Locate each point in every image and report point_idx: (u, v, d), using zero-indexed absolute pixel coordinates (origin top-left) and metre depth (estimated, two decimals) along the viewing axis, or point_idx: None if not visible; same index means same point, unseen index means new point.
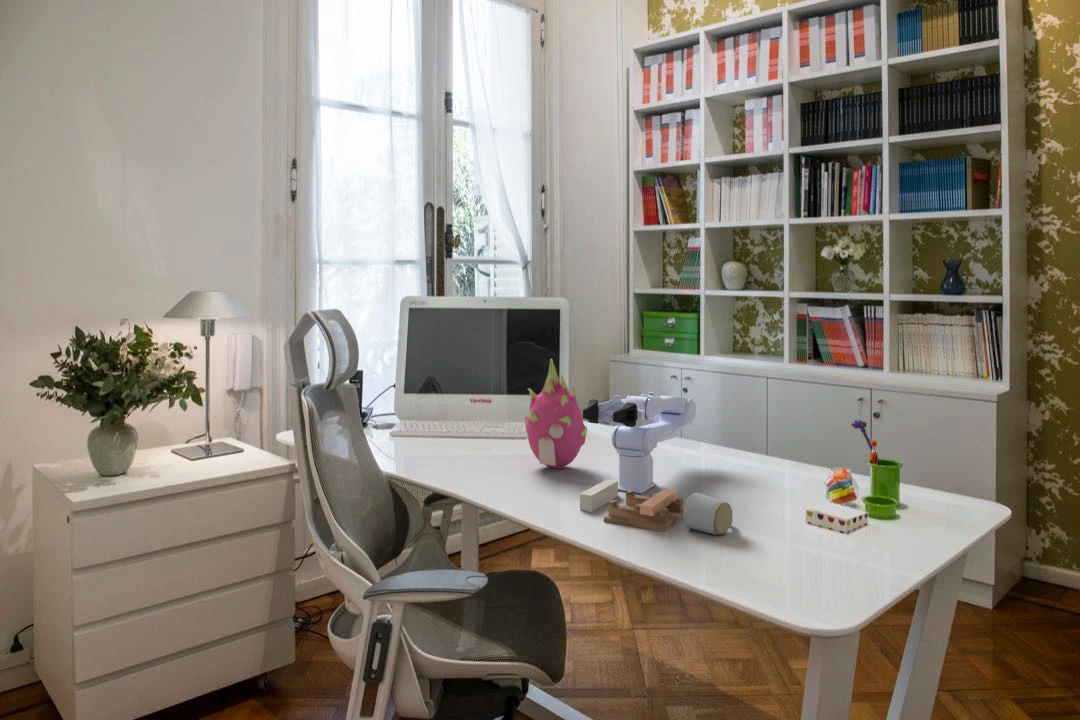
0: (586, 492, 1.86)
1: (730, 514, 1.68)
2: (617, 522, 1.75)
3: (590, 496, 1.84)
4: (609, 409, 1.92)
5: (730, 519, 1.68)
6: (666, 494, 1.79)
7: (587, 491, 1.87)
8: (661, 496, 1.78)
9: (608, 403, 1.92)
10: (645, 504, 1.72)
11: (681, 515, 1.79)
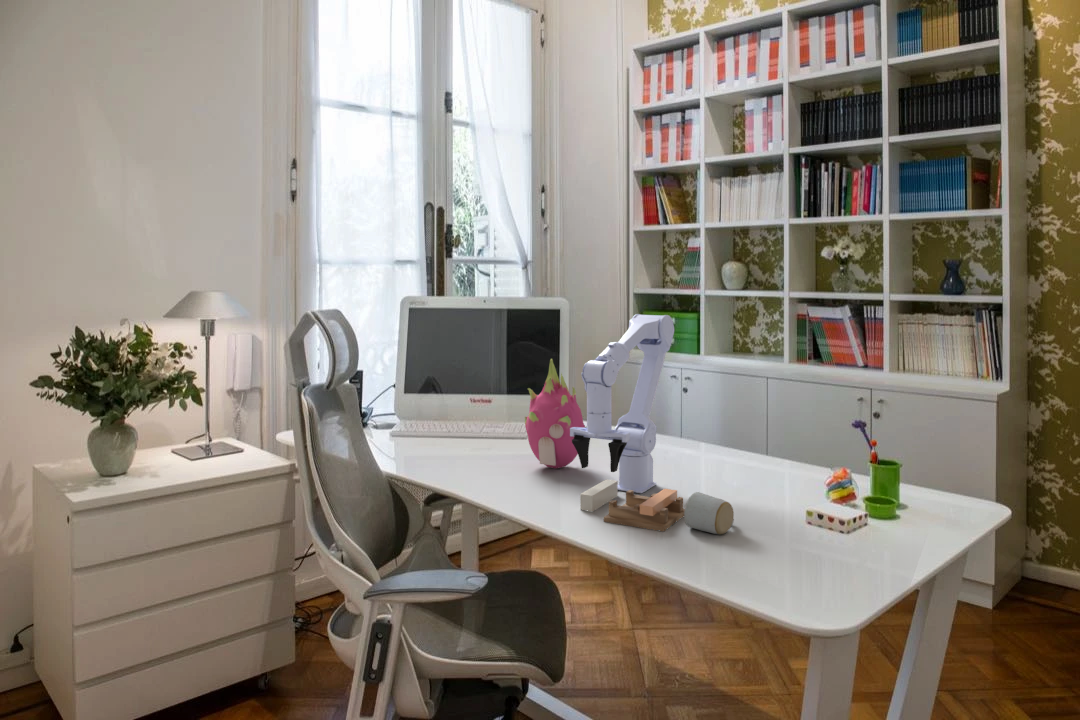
0: (586, 492, 1.86)
1: (731, 514, 1.69)
2: (617, 522, 1.75)
3: (591, 496, 1.84)
4: None
5: (731, 519, 1.69)
6: (666, 494, 1.79)
7: (587, 491, 1.87)
8: (661, 496, 1.78)
9: None
10: (645, 504, 1.72)
11: (681, 515, 1.79)
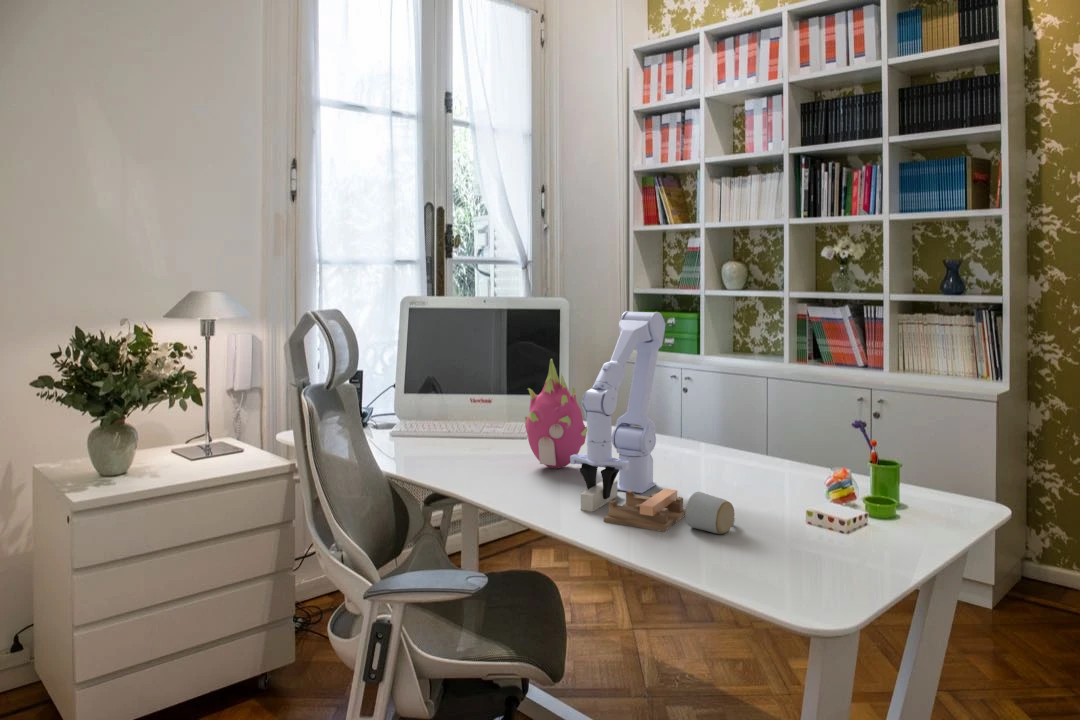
0: (587, 492, 1.86)
1: (732, 513, 1.69)
2: (617, 522, 1.75)
3: (591, 496, 1.84)
4: None
5: (732, 518, 1.69)
6: (666, 494, 1.79)
7: (588, 491, 1.87)
8: (661, 496, 1.78)
9: None
10: (645, 504, 1.72)
11: (681, 515, 1.79)
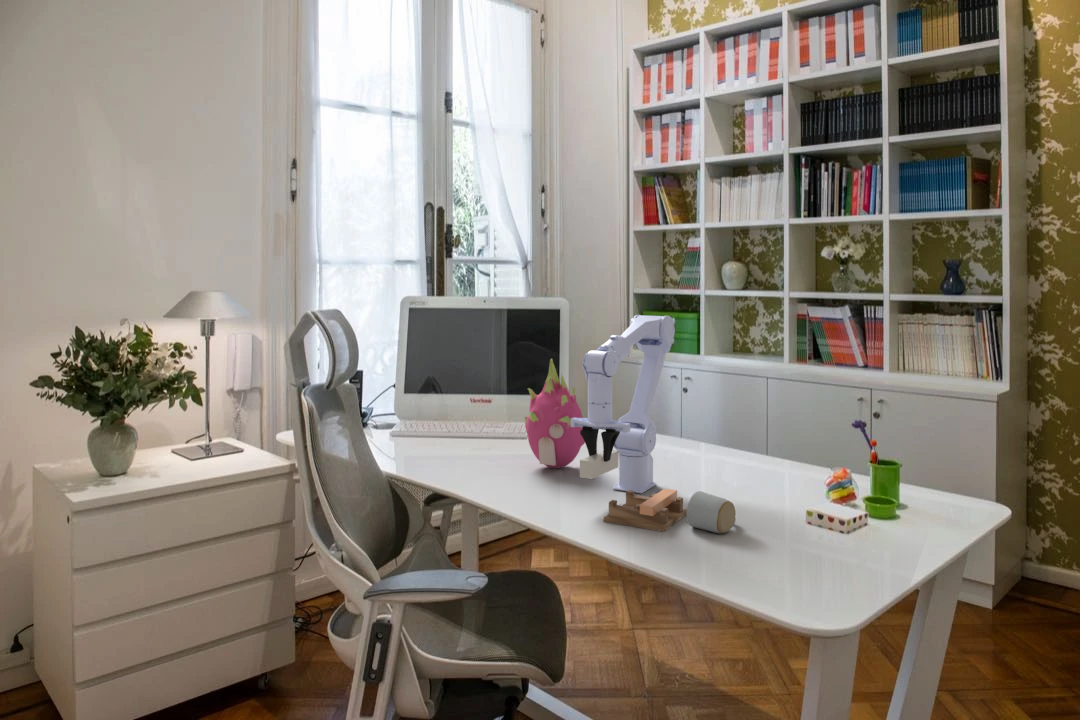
0: (586, 459, 1.85)
1: (733, 513, 1.69)
2: (617, 522, 1.75)
3: (590, 462, 1.82)
4: None
5: (733, 518, 1.69)
6: (666, 494, 1.79)
7: (587, 458, 1.86)
8: (661, 496, 1.78)
9: None
10: (645, 504, 1.72)
11: (681, 515, 1.79)
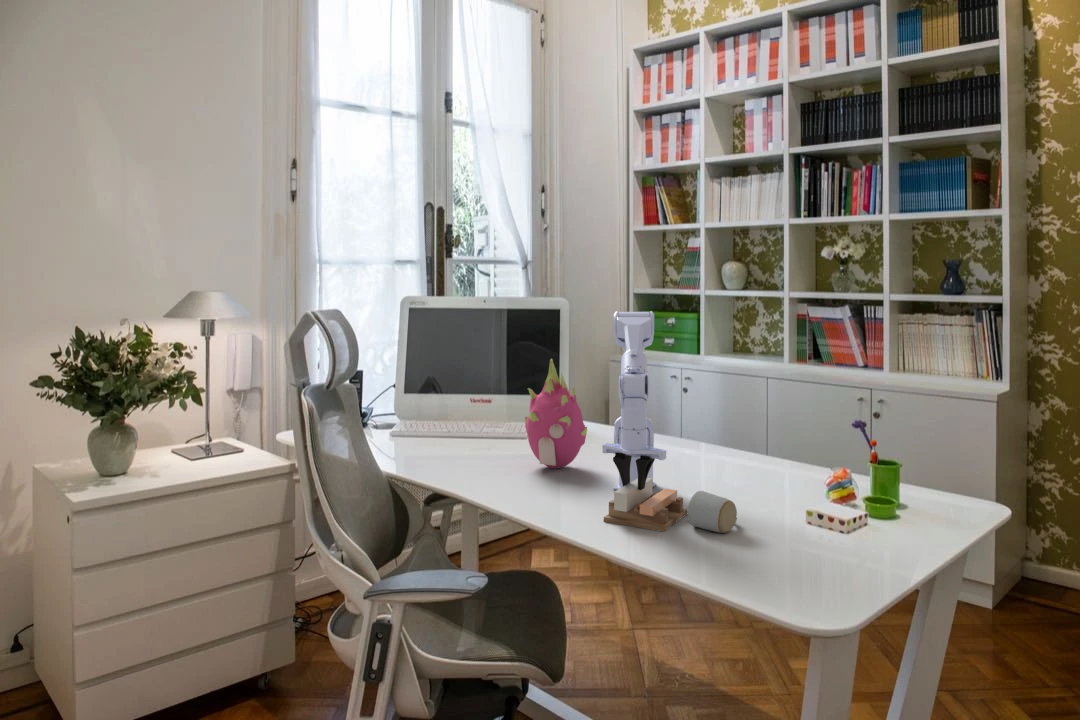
0: (620, 490, 1.76)
1: (734, 512, 1.69)
2: (617, 522, 1.75)
3: (625, 494, 1.74)
4: None
5: (734, 517, 1.70)
6: (666, 494, 1.79)
7: (621, 489, 1.77)
8: (661, 496, 1.78)
9: None
10: (645, 504, 1.72)
11: (681, 515, 1.79)
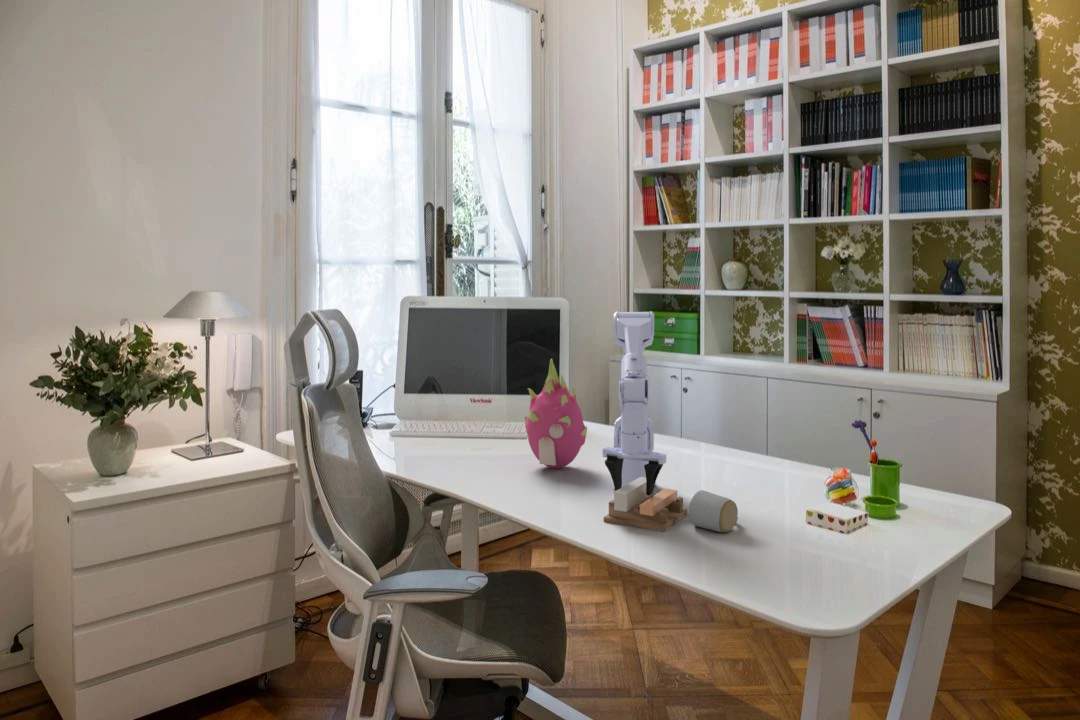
0: (620, 490, 1.76)
1: (735, 512, 1.70)
2: (617, 522, 1.75)
3: (625, 494, 1.74)
4: None
5: (735, 517, 1.70)
6: (666, 494, 1.79)
7: (621, 489, 1.77)
8: (661, 496, 1.78)
9: None
10: (645, 504, 1.72)
11: (681, 515, 1.79)
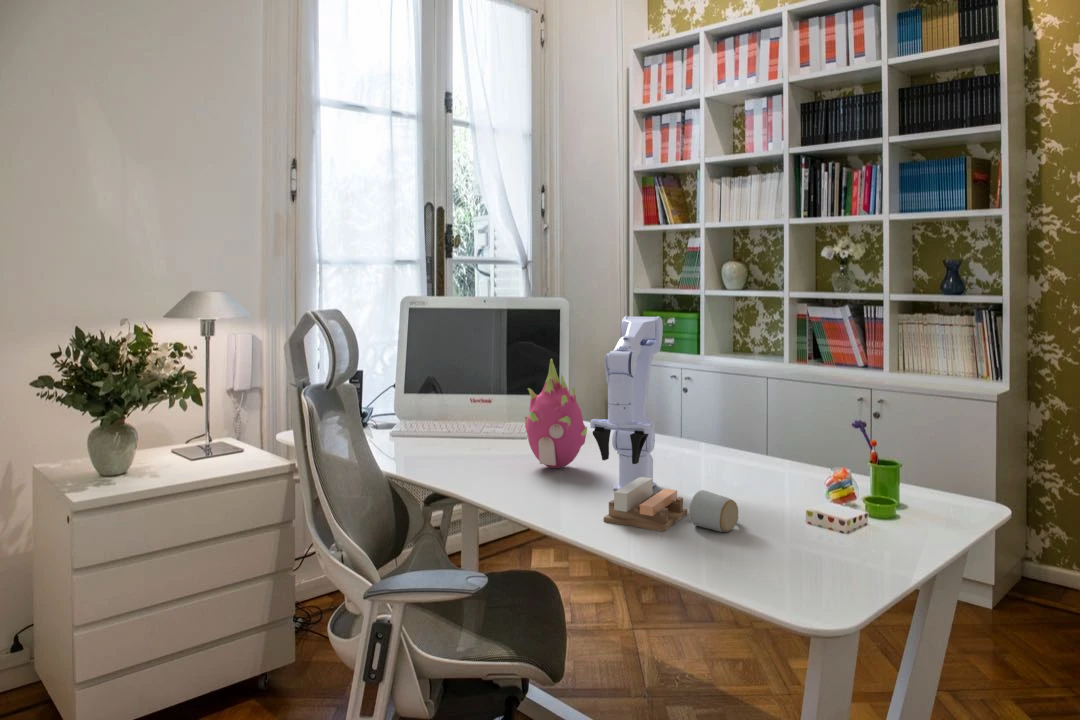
0: (620, 490, 1.76)
1: (736, 511, 1.70)
2: (617, 522, 1.75)
3: (625, 494, 1.74)
4: None
5: (736, 516, 1.70)
6: (666, 494, 1.79)
7: (621, 489, 1.77)
8: (661, 496, 1.78)
9: None
10: (645, 504, 1.72)
11: (681, 515, 1.79)
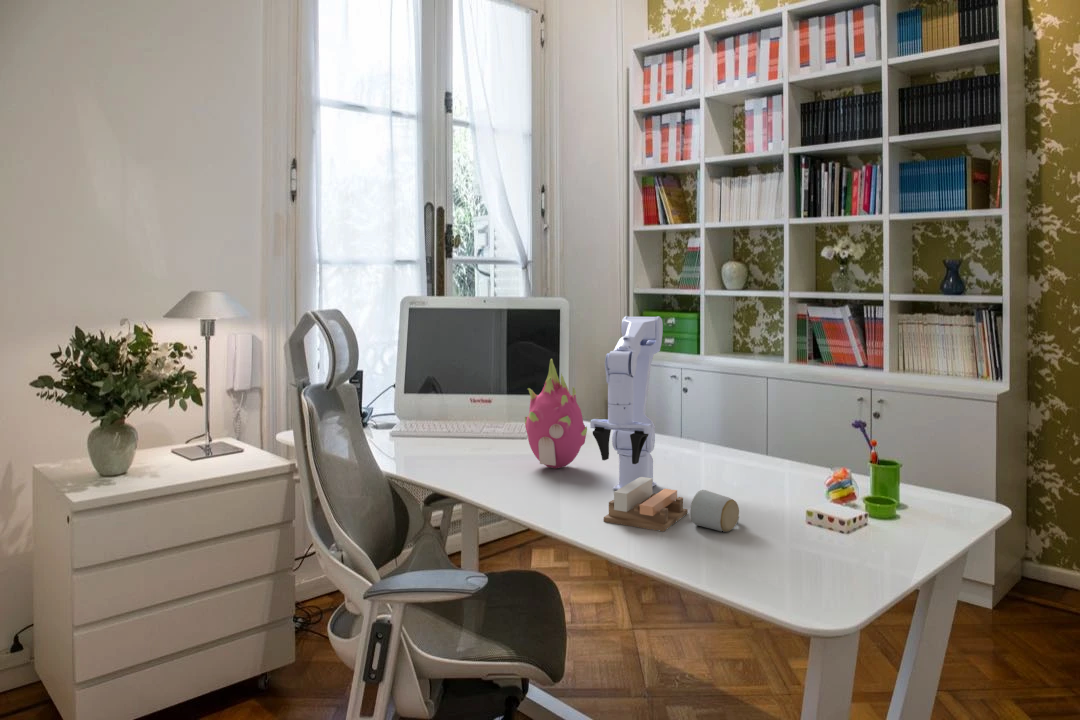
0: (620, 490, 1.76)
1: (737, 511, 1.70)
2: (617, 522, 1.75)
3: (625, 494, 1.74)
4: None
5: (737, 516, 1.70)
6: (666, 494, 1.79)
7: (621, 489, 1.77)
8: (661, 496, 1.78)
9: None
10: (645, 504, 1.72)
11: (681, 515, 1.79)
